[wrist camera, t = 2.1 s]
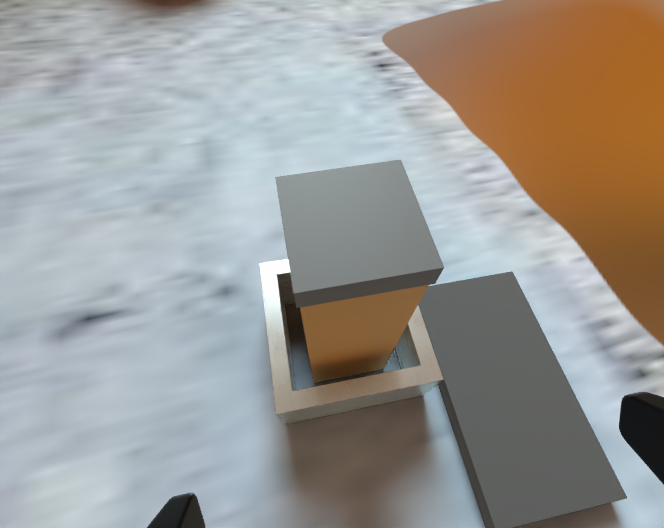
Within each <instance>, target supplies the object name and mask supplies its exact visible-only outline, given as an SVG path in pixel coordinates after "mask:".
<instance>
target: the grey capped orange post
mask: <svg viewBox="0 0 664 528" xmlns="http://www.w3.org/2000/svg"><path fill="white" fill-rule="evenodd" d="M275 178H276V184H277V191H278V197H279V204H280V210H281V216H282V223H283V229H284V236H285V242H286V249H287V255H288V261H289V268H290V274H291V281H292V287H293V293H294V298H295V303H296V308H300V310H301V316H302V321H303V326H304V332H305V337H306V343H307V348H308V354H309V359H310V364H311V370H312V375H313V381H314V383H316V382H321V381H326V380H331V379H336V378H341V377H346V376H351V375H356V374H361V373H366V372H371V371H376V370H381V369H383V368H384V367H385V365H386V363H387V361H388V359H389V357H390V356H391V354H392V352H393V350H394V348H395V346H396V344H397V343H398V341H399V339H400V337H401V335H402V333H403V331H404V330H405V328H406V326H407V324H408V322H409V320H410V319H411V317H412V315H413V313H414V311H415V309H416V307H417V306H418V304H419V302H420V300H421V298H422V296H423V294H424V293H425V291H426V289H427V287H428V285H430V284H435V283H436V281H437V279H438V277H439V276H440V274H441V272H442V270H443V269H444V266H443V263H442V261H441V259H440V256H439V254H438V251H437V249H436V246H435V244H434V241H433V239H432V236H431V234H430V231H429V229H428V226H427V224H426V221H425V219H424V216H423V214H422V211H421V209H420V206H419V204H418V201H417V199H416V196H415V194H414V191H413V189H412V186H411V184H410V181H409V179H408V176H407V174H406V171H405V169H404V166H403V164H402V161H401V160H395V161H388V162H381V163H373V164H366V165H359V166H352V167H345V168H338V169H330V170H323V171H316V172H309V173H302V174H295V175H287V176H280V177H275Z"/></svg>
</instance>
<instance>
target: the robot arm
mask: <svg viewBox="0 0 664 528" xmlns="http://www.w3.org/2000/svg"><path fill="white" fill-rule="evenodd" d="M619 429H620V432H621V435H622V436H623V438H624V439H625V441H626V442H627V443H628V444H629V445H630V446H631V448H632V449H633V450H634V451H635V452H636V453H637V454H638V456H639V457H640V458H641V459H642V460H643V461H644V462H645V464H646V465H647V466H648V467H649V468H650V469H651V470H652V472H653V473H654V474H655V475H656V476H657V477H658V478H659V480H660V481H661V482H662V483H663V484H664V397H661V396H658V395H654V394H651V393H647V392H638V393H633V394H629V395H626V396H624V397H623V399H622V402H621V411H620V421H619ZM147 528H205V523H204V519H203V516H202V513H201V509H200V506H199V503H198V500H197V497H196V495H195V494H194V493H187V494H182V495H178V496H174V497H172V498H171V499H170V500H169V501H168V502H167V503H166V504H165V505H164V507H163V508H162V509H161V510H160V512H159V513H158V514H157V515H156V517H155V518H154V519H153V521H152V522H151V523H150V524H149V526H148V527H147Z"/></svg>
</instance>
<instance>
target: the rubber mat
mask: <svg viewBox="0 0 664 528" xmlns="http://www.w3.org/2000/svg"><path fill="white" fill-rule="evenodd" d="M418 306H419V309H420V312H421V314H422V317H423V320H424V323H425V326H426V329H427V332H428V335H429V338H430V341H431V344H432V347H433V350H434V353H435V356H436V359H437V361H438V364H439V367H440V370H441V373H442V376H443V379H444V380H442V381H441V382H440V383H439V384H438V385H439V388H440V391H441V394H442V397H443V400H444V403H445V406H446V409H447V412H448V415H449V418H450V421H451V424H452V427H453V430H454V433H455V436H456V439H457V442H458V445H459V448H460V451H461V454H462V457H463V460H464V463H465V466H466V469H467V472H468V475H469V478H470V481H471V484H472V487H473V490H474V493H475V496H476V499H477V502H478V505H479V508H480V512H481V515H482V518H483V521H484V524H485V527H486V528H512V527H516V526H520V525H524V524H528V523H532V522H536V521H540V520H544V519H548V518H552V517H556V516H559V515H563V514H567V513H571V512H575V511H579V510H583V509H587V508H591V507H595V506H599V505H603V504H607V503H610V502H614V501H618V500H622V499H626V498H627V496H626V494H625V492H624V491H623V489H622V487H621V485H620V483H619V481H618V479H617V477H616V475H615V473H614V471H613V469H612V467H611V465H610V463H609V461H608V459H607V457H606V455H605V453H604V451H603V449H602V447H601V445H600V443H599V441H598V439H597V437H596V435H595V433H594V431H593V429H592V427H591V425H590V424H589V422H588V420H587V418H586V416H585V414H584V412H583V410H582V408H581V406H580V404H579V402H578V400H577V398H576V396H575V394H574V392H573V390H572V388H571V386H570V384H569V382H568V380H567V378H566V376H565V374H564V372H563V370H562V368H561V366H560V364H559V362H558V360H557V359H556V357H555V355H554V353H553V351H552V349H551V347H550V345H549V343H548V341H547V339H546V337H545V335H544V333H543V331H542V329H541V327H540V325H539V323H538V321H537V319H536V317H535V315H534V313H533V311H532V309H531V307H530V305H529V303H528V301H527V299H526V297H525V295H524V293H523V292H522V290H521V288H520V286H519V284H518V282H517V280H516V278H515V276H514V274H513V272H507V273H501V274H495V275H490V276H484V277H479V278H473V279H467V280H462V281H456V282H450V283H445V284H439V285H434V286H428V287H427V289H426V291H425V293H424V294H423V296H422V298H421V300H420V302H419V304H418Z"/></svg>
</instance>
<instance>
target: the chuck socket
mask: <svg viewBox="0 0 664 528" xmlns="http://www.w3.org/2000/svg"><path fill="white" fill-rule="evenodd" d="M260 271H261V280H262V289H263V298H264V308H265V317H266V326H267V335H268V344H269V353H270V363H271V372H272V381H273V390H274V399H275V409H276V414H277V415H278V416H279V417H280V419H281V420H282V421H283V422H284V423H285V424H289V423H293V422H298V421H303V420H308V419H313V418H317V417H322V416H327V415H332V414H336V413H341V412H346V411H351V410H355V409H360V408H365V407H370V406H375V405H379V404H384V403H389V402H394V401H398V400H403V399H408V398H413V397H418V396H422V395H424V394H426V393H427V392H428V391H430V390H431V389H432V388H433V387H435V386H436V385H437V384H439V383H440V382H441V381H442V380H444V379H443V376H442V373H441V370H440V367H439V364H438V361H437V359H436V356H435V353H434V350H433V347H432V344H431V341H430V338H429V335H428V332H427V329H426V326H425V323H424V320H423V317H422V314H421V312H420V309H419V306H417V307H416V309H415V311H414V313H413V315H412V317H411V319H410V320H409V322H408V324H407V326H406V328H405V330H404V331H403V333H402V335H401V337H400V339H399V341H398V343H397V344H396V346H395V349H396V353H397V356H398V360H399V363H400V367H401V370H396V371H391V372H386V373H381V374H376V375H371V376H366V377H361V378H356V379H351V380H346V381H341V382H336V383H331V384H326V385H321V386H316V387H311V388H306V389H301V390H297V389H296V382H295V375H294V368H293V360H292V353H291V346H290V339H289V332H288V325H287V318H286V310H285V304H291V303H295V298H294V293H293V287H292V281H291V274H290V268H289V261H288V259H286V260H280V261H274V262H268V263H262V264H260Z"/></svg>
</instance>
